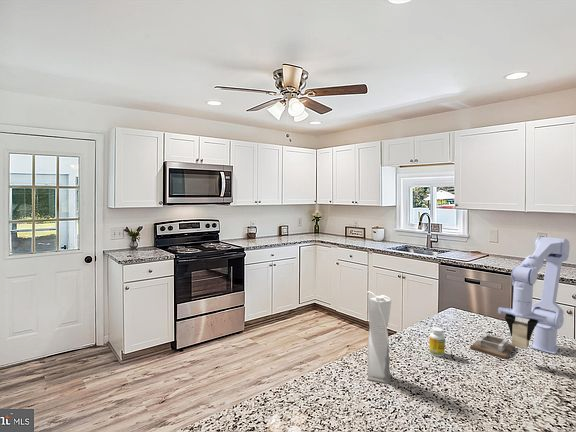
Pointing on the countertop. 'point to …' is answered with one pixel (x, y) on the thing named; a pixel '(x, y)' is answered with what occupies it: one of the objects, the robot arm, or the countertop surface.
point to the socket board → (493, 346)
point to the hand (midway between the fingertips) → (520, 337)
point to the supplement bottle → (437, 342)
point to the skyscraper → (378, 339)
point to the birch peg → (520, 335)
